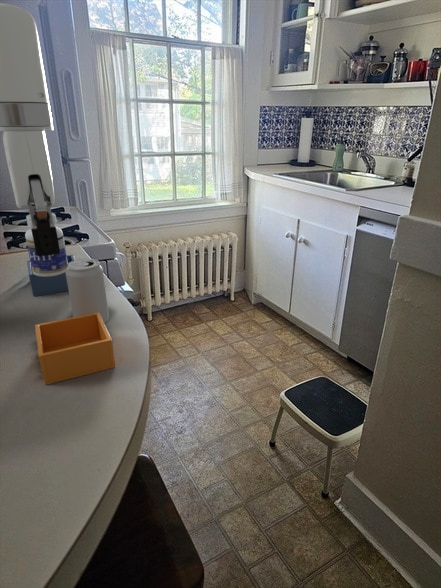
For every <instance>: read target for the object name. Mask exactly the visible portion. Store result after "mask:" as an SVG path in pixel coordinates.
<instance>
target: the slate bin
mask: <svg viewBox="0 0 441 588" xmlns="http://www.w3.org/2000/svg"><path fill="white" fill-rule="evenodd" d="M66 255H67V261H68V263H70V262H72V261H75V260H76V258H75V256H74V255H73V254H66ZM26 265H27V272H28V278H29V283H30V288H31V292H32V296H33V297H38V296H45V295H51V294H56V293H63V292H67V291H68V292H69V290H68V284H67V279H66V273H65V272H64V273H62V274H60V275H56V276H49V277H42V276H37V275H35V274H33V272H32V267H31V262H30V259H29V260H26Z"/></svg>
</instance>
